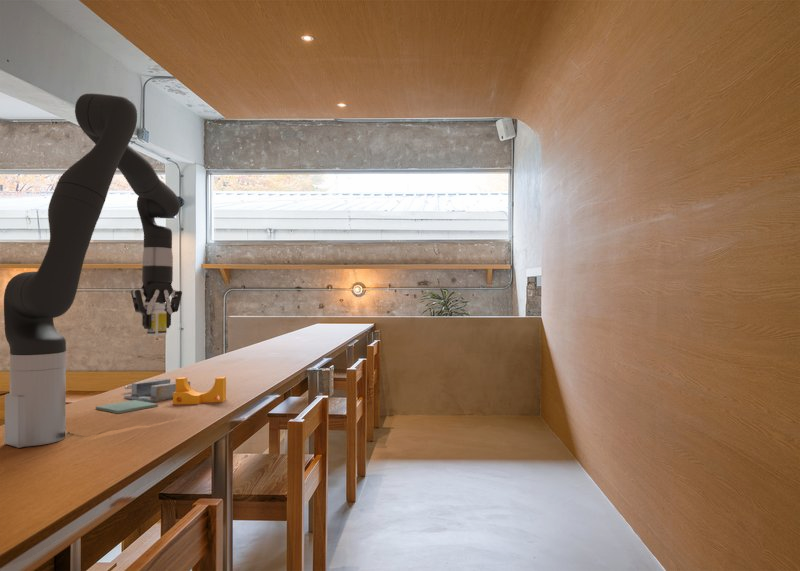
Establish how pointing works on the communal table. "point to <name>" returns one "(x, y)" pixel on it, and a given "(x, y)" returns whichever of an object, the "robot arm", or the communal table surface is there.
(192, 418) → the communal table surface
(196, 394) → the pipe clamp
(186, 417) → the communal table surface
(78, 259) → the robot arm
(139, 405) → the mat
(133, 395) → the vise
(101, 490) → the communal table surface
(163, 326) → the supplement bottle
